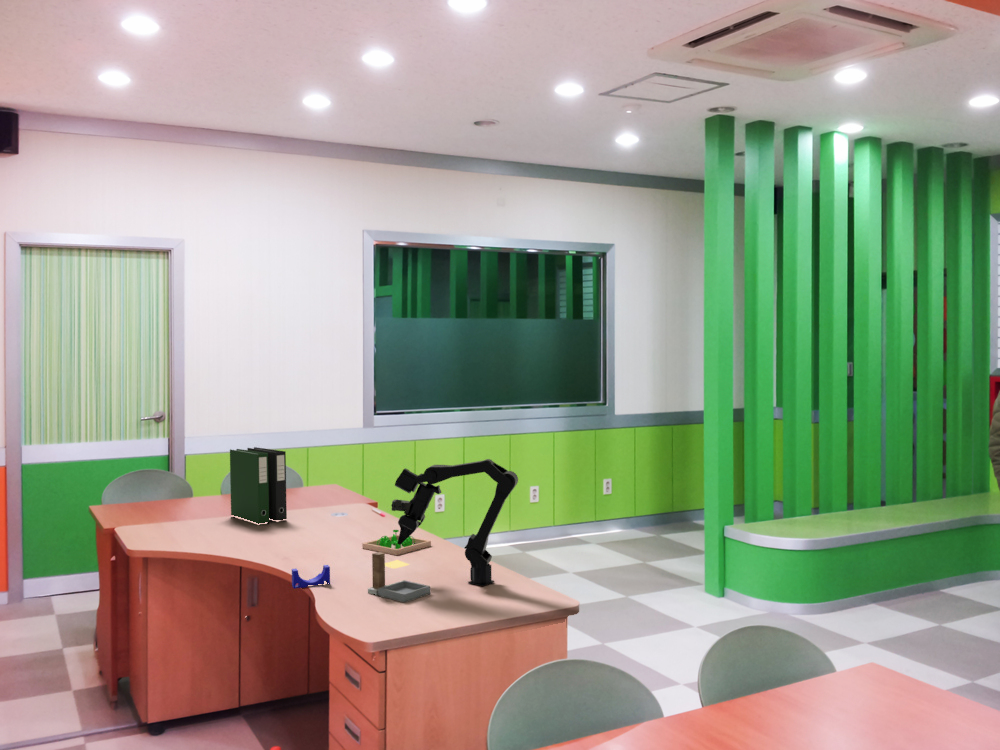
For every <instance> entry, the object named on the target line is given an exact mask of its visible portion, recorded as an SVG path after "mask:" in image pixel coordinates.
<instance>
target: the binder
mask: <svg viewBox="0 0 1000 750" xmlns="http://www.w3.org/2000/svg"><path fill="white" fill-rule="evenodd" d="M286 455H287V454H286V451H283V450H277V449H270V448H262V447H256V446H254V447H252V448H251V447H247V448H246V449H242V448H241V449H240V448H236V449H231V448H230V449H229V471H230V472H229V474H230V475H229V477H230V516H231V515H234V516H238V517H241V518H244V519H247V520H250V521H253V522H256V523H258V524H259V523H265V522H269V523H270V521H269V518H270V519H273V520H283V519H288V518H287V515H288V514H287V471H286V470H287V465H286V464H287V463H286V462H287V461H286V459H287V458H286Z"/></svg>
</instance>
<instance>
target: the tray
mask: <svg viewBox="0 0 1000 750" xmlns="http://www.w3.org/2000/svg"><path fill="white" fill-rule="evenodd" d="M427 594H428V595H431V586H430V585H427V584H423V583H418V582H414V581H410V580H409V581H408V580H405V579H404V580H401V581H397V582H394V583H391V584H387V585H386V586H384V587H380V588H378V595H377V596H378V597H381V598H384V597H385V599H389V600H393V601H397V602H400V603H401V602H402V603H407V602H410V600H411V601H412V600H413V599H414V600H416V599H419V598H422V597H426V596H428V595H427ZM421 596H422V597H421Z"/></svg>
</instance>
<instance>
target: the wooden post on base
mask: <svg viewBox="0 0 1000 750" xmlns="http://www.w3.org/2000/svg"><path fill="white" fill-rule="evenodd" d="M385 555H386V553H383V552H378V551H376V552H373V553H371V560H372V561H371V562H372V564H371V565H372V567H371V568H372V570H371V571H372V587H368V588H367V594H369V593H370V594H369V595H373V594H375V595H374V596H378V588H380V587H384V586H387V585H386V558H385V557H386V556H385Z"/></svg>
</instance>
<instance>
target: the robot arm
mask: <svg viewBox="0 0 1000 750" xmlns="http://www.w3.org/2000/svg"><path fill="white" fill-rule="evenodd" d="M481 473H485V474H487V476H489V477H490V479H492V480H493V481H494V482H496V487H495V491H494V492H495V493H494V497H493V499H492V502H491V503H490V506H489V507H488V510H487V512H486V514H485V516H484V518H483V521H482V523H481V524H480V527H479V529H478V531H477V533H476V534H475V533H472V534H471V535H470V536H469V538H468V540H467V543H466V545H465V546H464V547H463V548H464V549H465V551H464V555H465V558H466V560H468V561H469V563H470V569H469V570H470V572H469V573H470V575H469V576H470V577H469V578H470V579H469V581H467V584H469V583H470V585H474V584H476V585H475V586H478V585H481V586H480V587H485V586H488V585H490V584H489V583H491V584H493V583H492V582H494V583H495V580H494V579H492V564H490V563H491V560H492V557H493V555H491V553H490V552H489V551H488V550H487V545H488V541H489V537H490V534H491V532H492V529H493V528H494V525H495V523H496V521H497V519H498V517H499V515H500V513H501V510H502V508H503V506H504V504H505V502H506V499H508V498H509V496H510V495H511V493H512V492H513V490H514V489H515V487H516V486H517V485H518V483H519V476H518V475H517V473H515V472H514V471H512V470H508V469H506V468H505V467H503V466H501V465H500V464H498V463H496V462H495V461H493V460H492V459H490V458H486V459H483V460H478V461H471V462H466V463H465V462H464V463H459V464H454V465H453V464H452V465H450V464H432V465H430V466H429V467H427V468H426V469H425V470H424V472H423V473H420V474H416V473H415V472H412V471H410V470H409V469H407V468H404V469H402V472H401V473H400V474H399V475H398V477H397V478H396V480H395V483H394V486H395V487H396V488H397V489H400V490H401V491H403V492H405V493H407V494H411V492H412V493H414V495H413V497H412V498H411V499H410V500H405V499H404V500H403V499H397V498H396V499H393V500H392V502H391V505H390V507H391V511H392V512H396V511H398V512H403V515H401V516H400V517H399V519H398V522H397V524H398V526H399V528H400V529H399V534H398V535H399V538H398V542H397V543H398V544H399V545H401V546H402V543H403V542H404V541H405V540H406V539H407V538H408V537H409V536H412V534H413V533H414V532H415V531H417V529H418V528H419V527H420V526H421V525H422V523H423V522H424V520H425V518H426V515H425V513H426V511H427V509H428V508H429V507H430V506H429V505H430V503H431V501H432V499H433V497H434V495H435V494H437V495H440V494H441V493H442V489H441V486H440V484H439V485H435V484H438V483H441V482H443V481H446V480H448V479H451V478H456V477H463V476H468V475H475V474H481ZM487 584H488V585H487ZM484 585H485V586H484Z"/></svg>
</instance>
